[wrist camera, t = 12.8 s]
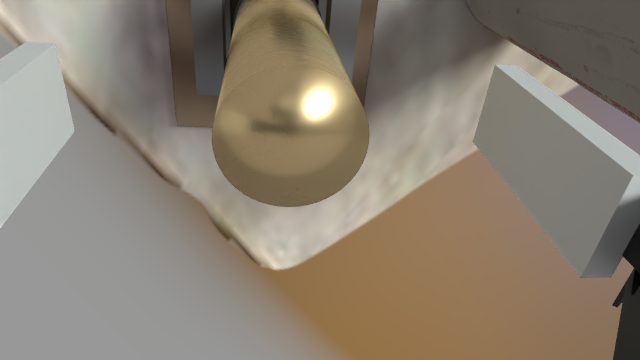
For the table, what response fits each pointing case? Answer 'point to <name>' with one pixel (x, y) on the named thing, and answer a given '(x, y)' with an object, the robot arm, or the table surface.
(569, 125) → the robot arm
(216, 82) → the collar stand
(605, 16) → the thermos bottle
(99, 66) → the table surface
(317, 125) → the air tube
